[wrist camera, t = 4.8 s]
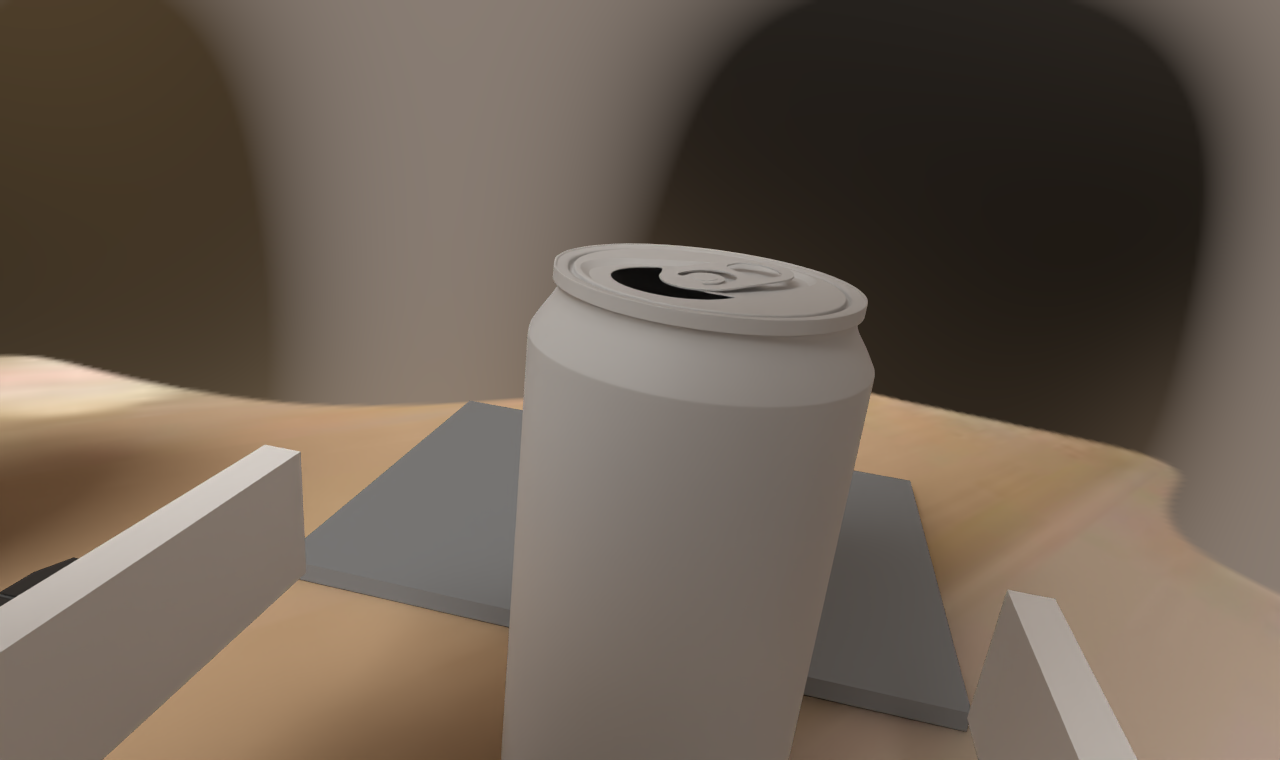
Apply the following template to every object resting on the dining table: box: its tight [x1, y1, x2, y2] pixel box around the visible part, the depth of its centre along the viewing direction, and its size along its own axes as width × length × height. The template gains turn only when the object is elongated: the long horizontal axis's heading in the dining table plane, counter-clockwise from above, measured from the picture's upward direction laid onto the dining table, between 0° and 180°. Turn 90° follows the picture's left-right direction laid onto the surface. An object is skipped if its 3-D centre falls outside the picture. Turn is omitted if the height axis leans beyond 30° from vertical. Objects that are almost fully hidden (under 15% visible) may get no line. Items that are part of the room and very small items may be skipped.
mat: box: [300, 401, 970, 731], centre depth 29 cm, size 20×14×1 cm
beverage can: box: [501, 244, 875, 760], centre depth 16 cm, size 6×6×12 cm
